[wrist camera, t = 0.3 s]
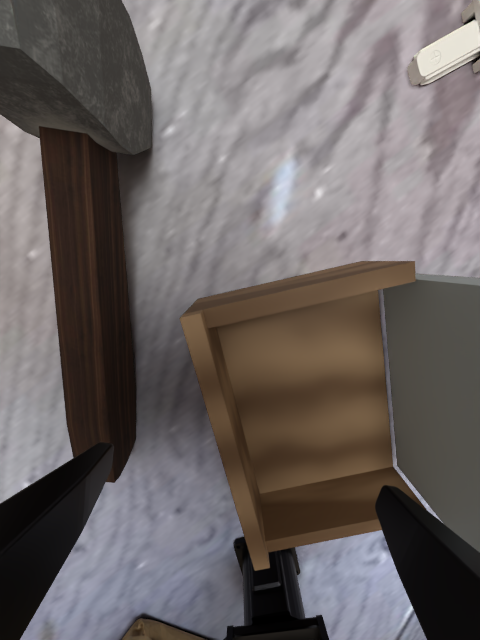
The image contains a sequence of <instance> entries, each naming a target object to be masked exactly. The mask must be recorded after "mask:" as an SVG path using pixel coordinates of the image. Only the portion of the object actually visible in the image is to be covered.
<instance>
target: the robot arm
mask: <svg viewBox="0 0 480 640" xmlns="http://www.w3.org/2000/svg"><path fill="white" fill-rule="evenodd" d="M113 451H114V446H113V444H111V443H105V442H100V443H97V444H96V445H94V446H92V447H91V448H89V449H88V450H86V451H84V452H83V453H81V454H80V455H78V456H76V457H75V458H73V459H72V460H70V461H68V462H67V463H65V464H63V465H62V466H60V467H59V468H57V469H55V470H54V471H52V472H51V473H49V474H47V475H46V476H44V477H42V478H41V479H39V480H38V481H36V482H34V483H33V484H31V485H30V486H28V487H26V488H25V489H23V490H22V491H20V492H18V493H17V494H15V495H13V496H12V497H10V498H9V499H7V500H5V501H4V502H2V503H1V504H0V640H20V638H21V637H22V635H23V633H24V631H25V630H26V628H27V626H28V625H29V623H30V621H31V619H32V618H33V616H34V614H35V612H36V611H37V609H38V607H39V606H40V604H41V602H42V600H43V599H44V597H45V595H46V593H47V592H48V590H49V588H50V587H51V585H52V583H53V581H54V580H55V578H56V576H57V574H58V573H59V571H60V569H61V568H62V566H63V564H64V562H65V561H66V559H67V557H68V555H69V554H70V552H71V550H72V549H73V547H74V545H75V543H76V542H77V540H78V538H79V536H80V534H81V533H82V531H83V529H84V527H85V525H86V522H87V520H88V518H89V516H90V514H91V512H92V510H93V508H94V506H95V503H96V501H97V499H98V497H99V495H100V493H101V491H102V489H103V486H104V484H105V482H106V480H107V478H108V476H109V474H110V471H111V468H112V460H113ZM375 510H376V514H377V517H378V520H379V522H380V525H381V528H382V531H383V534H384V536H385V539H386V542H387V545H388V548H389V550H390V553H391V556H392V559H393V561H394V564H395V567H396V569H397V572H398V574H399V577H400V579H401V581H402V584H403V586H404V588H405V590H406V593H407V595H408V597H409V600H410V602H411V604H412V606H413V609H414V611H415V613H416V616H417V618H418V620H419V622H420V625H421V627H422V629H423V632H424V634H425V636H426V638H427V640H480V552H479V551H477V550H476V549H475V548H473V547H472V546H471V545H470V544H468V543H467V542H466V541H465V540H463V539H462V538H461V537H460V536H458V535H457V534H456V533H455V532H453V531H452V530H451V529H450V528H448V527H447V526H446V525H444V524H443V523H442V522H441V521H439V520H438V519H437V518H436V517H434V516H433V515H432V514H431V513H429V512H428V511H427V510H426V509H424V508H423V507H422V506H420V505H419V504H418V503H417V502H415V501H414V500H413V499H412V498H410V497H409V496H408V495H407V494H405V493H404V492H403V491H402V490H400V489H399V488H398V487H395V486H390V485H383V486H382V488H381V490H380V492H379V495H378V497H377V500H376V502H375ZM234 549H235V552H236V556H237V559H238V562H239V565H240V568H241V571H242V575H243V596H244V626H237V627H233V625H232V626H227V637H226V638H225V639H224V640H329V638H328V634H327V631H326V627H325V624H324V620H323V617H322V615H316V617H313V618H305V613H304V608H303V603H302V598H301V593H300V588H299V583H298V579H297V575H299V574H300V568H299V564H298V559H297V555H296V551H295V547H293V548H288V549H283V550H278V551H273V552H268V555H269V563H270V568H267V569H262V570H257V571H255V570H254V567H253V564H252V560H251V557H250V553H249V550H248V547H247V543H246V540H245V538H243V539H238V540H235V541H234Z"/></svg>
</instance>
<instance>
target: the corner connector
mask: <svg viewBox="0 0 480 640" xmlns="http://www.w3.org/2000/svg"><path fill="white" fill-rule="evenodd" d="M461 15H462V20H463V23H465V22H466V21H468V20H470V19H472V18H474V17H475V18H476V19H475V20H473V21H471V22H469V23H468V24H466V25H464V26H462V27H460V28H459V29H457V30H455V31H453V32H452V33H450V34H448V35H446V36H444V37H443V38H441V39H439V40H437V41H436V42H434V43H432V44H430V45H428V46H427V47H425V48H423V49H421V50H420V51H419V52H418V53H417V54H416V55H415V56H414V60H413V61H412V62H411V63H410V64H409V66H408V69H407V71H408V75H409V79H410V82H411V84H412V85H413V86H415V85H418V84H421V85H425V84H429V83H431V82H433V81H435V80H436V79H438V78H440V77H442V76H444V75H446V74H447V73H449V72H451V71H453V70H455V69H457V68H458V67H460V66H462V65H464V64H466V63H468V62H469V61H471V60H473V59H475V58H477V57H478V56H480V0H473V1H472V2H471V3H470V5H469V6H468V7H467V8H466V9H465V10H464V11H463V12H462V13H461ZM472 67H473V72H474V73H476V72H478V71H480V59H479V60H478V61H476V62H475V63H474V64H473V65H472Z"/></svg>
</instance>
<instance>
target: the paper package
mask: <svg viewBox="0 0 480 640" xmlns="http://www.w3.org/2000/svg"><path fill="white" fill-rule="evenodd" d="M122 640H206V639H204V638H201V637H198V636H195V635H192V634H190V633H187V632H184V631H182V630H179V629H176V628H174V627H171V626H168V625H166V624H163V623H161V622H158V621H154V620H150V619H142V618H140V619H138V620H137V621H136V622H135V623H134V624H133V625H132V626H131V628H130V629H129V631H128V632H127V633H126V635H125V636H124V637H123V639H122Z"/></svg>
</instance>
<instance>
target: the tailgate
mask: <svg viewBox="0 0 480 640" xmlns="http://www.w3.org/2000/svg"><path fill="white" fill-rule="evenodd" d="M415 277H416V281H415V282H411V283H407V284H402V285H398V286H393V287H389V288H384V289H383V295H384V307H385V320H386V332H387V344H388V357H389V369H390V382H391V394H392V406H393V419H394V431H395V444H396V456H397V466H398V467H399V468H400V470H401V471H402V472H403V473H404V475H405V476H406V477H407V478H408V480H409V481H410V482H411V483H412V485H413V486H414V487H415V488H416V490H417V491H418V492H419V493H420V495H421V496H422V497H423V498H424V500H425V501H426V502H427V503H428V505H429V506H430V507H431V508H432V510H433V511H434V512H435V513H436V515H437V516H438V517H439V518H440V520H441V521H442V522H443V523H444V525H446V526H447V527H448V528H450V529H451V530H452V531H453V532H455V533H456V534H457V535H458V536H460V537H461V538H462V539H463V540H465V541H466V542H467V543H468V544H470V545H471V546H472V547H473V548H475V549H476V550H477V551H479V552H480V278H474V277H459V276H444V275H429V274H415Z"/></svg>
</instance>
